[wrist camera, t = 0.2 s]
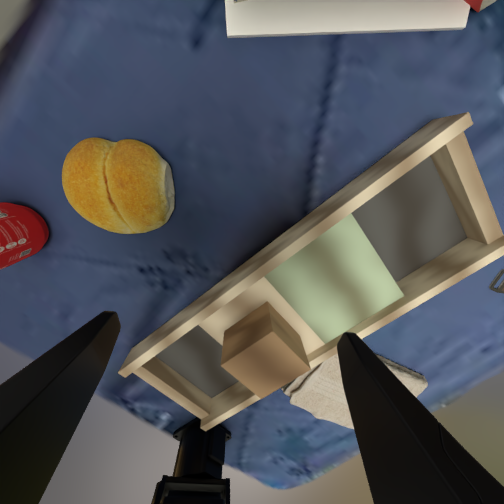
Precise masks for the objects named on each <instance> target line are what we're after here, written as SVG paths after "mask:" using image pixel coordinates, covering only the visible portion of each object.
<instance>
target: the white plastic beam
mask: <svg viewBox="0 0 504 504" xmlns="http://www.w3.org/2000/svg"><path fill="white" fill-rule="evenodd" d="M495 1H497V0H225V9H226V25H227V38H241V37H270V36H298V35H326V34H355V33H383V32H411V31H440V30H462V29H463V28H465V27H466V23H467V18H468V14H469V10H470V7H472V8H473V9H474V10H475V11H477V12H479V11H481V10H482V9H484V8H486V7H487V6H489V5H490V4H492V3H494V2H495Z"/></svg>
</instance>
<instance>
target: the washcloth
mask: <svg viewBox="0 0 504 504" xmlns="http://www.w3.org/2000/svg"><path fill="white" fill-rule="evenodd" d="M377 357H378V358H379V359H380V360H381V361H382V362H383V363H384V364H385V365H386V366H387V367H388V368H389V369H390V370H391V371H392V372H393V374H394V375H395V376H396V377H397V378H398V379H399V380H400V381H401V382H402V383H403V384H404V385H405V386H406V387H407V388H408V389H409V391H410V392H411V393H412V394H413V395H414V396H415V397H417V396H418V395H419V394H420V393H421V392H423V390H424V389H425V388H426V387H427V386H428V384H427V383H428V382H427V380H426V379H425V377H424V375H420V374H419V373H416V372H414V371H412V370H409V369H407V368H406V367H403V366H400V365H398V364H396V363H394V362H392V361H390V360H389V359H385V358H384V357H382V356H379V355H377ZM281 390H283V393H285V394H286V395H288V396H289V397H290V403H291V404H293V405H296V406H298V407H300V408H302V409H305V410H307V411H308V412H310V413H312V414H313V415H314V417H315V418H317V419H325V420H328V421H332V422H334V423H337V424H339V425H342V426H346V427H347V428H352V429H354V426H353V423H352V419H351V415H350V411H349V407H348V404H347V400H346V396H345V392H344V388H343V383H342V377H341V371H340V365H339V359H338V353H337V354H335V355H334V356H332V357H330V358H329V359H327V360H325V361H324V362H322V363H320V364H319V365H317V366H315V367H314V368H312V369H311V370H309V371H308V372H306V373H304V374H303V375H301V376H299V377H298V378H296V379H294V380H293V381H291V382H289V383H288V384H286V385H284V386H282V387H281Z"/></svg>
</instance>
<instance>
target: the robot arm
mask: <svg viewBox="0 0 504 504" xmlns="http://www.w3.org/2000/svg"><path fill="white" fill-rule="evenodd" d="M120 328H121V325H120V321H119V318H118V315H117V313H116V312H114V311H104V312H102V313H100V314H99V315H98V316H96V317H95V318H93V319H92V320H91V321H89V322H88V323H86V324H85V325H84V326H82V327H81V328H79V329H78V330H77V331H75V332H74V333H72V334H71V335H70V336H68V337H67V338H65V339H64V340H63V341H61V342H60V343H58V344H57V345H56V346H54V347H53V348H51V349H50V350H49V351H47V352H46V353H44V354H43V355H42V356H40V357H39V358H37V359H36V360H35V361H33V362H32V363H30V364H29V365H28V366H26V367H25V368H23V369H22V370H21V371H19V372H18V373H16V374H15V375H14V376H12V377H11V378H9V379H8V380H7V381H6V382H4V383H2V384H1V385H0V504H39V502H40V500H41V498H42V496H43V494H44V492H45V490H46V488H47V486H48V484H49V482H50V480H51V477H52V476H53V474H54V472H55V470H56V468H57V466H58V464H59V462H60V460H61V458H62V456H63V454H64V452H65V450H66V447H67V446H68V444H69V442H70V440H71V438H72V436H73V434H74V432H75V430H76V428H77V426H78V424H79V422H80V420H81V418H82V416H83V413H84V412H85V410H86V408H87V406H88V403H89V402H90V400H91V398H92V396H93V394H94V392H95V390H96V388H97V386H98V384H99V382H100V380H101V378H102V376H103V373H104V371H105V369H106V367H107V364H108V361H109V359H110V356H111V353H112V351H113V348H114V345H115V343H116V340H117V337H118V335H119V332H120ZM337 352H338V359H339V365H340V371H341V377H342V383H343V388H344V392H345V396H346V400H347V404H348V407H349V411H350V415H351V419H352V423H353V426H354V430H355V434H356V438H357V441H358V445H359V449H360V453H361V456H362V460H363V464H364V468H365V471H366V475H367V479H368V483H369V486H370V491H371V494H372V498H373V502H374V504H504V487H503V486H502V485H501V484H500V483H499V482H498V481H497V480H496V479H495V478H494V477H493V476H492V475H491V474H490V473H489V472H488V471H487V470H486V469H485V468H484V467H483V466H482V465H481V464H480V463H479V462H478V461H476V460H475V458H473V457H472V456H471V455H470V454H469V453H468V452H467V451H466V450H465V449H464V447H463V446H461V444H460V443H459V442H458V441H457V440H456V439H455V438H454V437H453V436H452V435H451V434H450V433H449V432H448V431H447V430H446V429H445V428H444V427H443V426H442V425H441V423H439V422H438V421H437V419H436V418H435V417H434V416H433V415H432V414H431V413H430V412H429V411H428V410H427V409H426V408H425V406H424V405H423V404H422V403H421V402H420V401H419V400H418V399H417V398H416V397H415V396H414V395H413V394H412V393H411V392H410V391H409V389H408V388H407V387H406V386H405V385H404V384H403V383H402V382H401V381H400V380H399V379H398V378H397V377H396V376H395V375H394V374H393V372H392V371H391V370H390V369H389V368H388V367H387V366H386V365H385V364H384V363H383V362H382V361H381V360H380V359H379V358H378V357H377V355H376V354H375V353H374V352H373V351H372V350H371V349H370V348H369V347H368V346H367V345H366V344H365V343H364V342H363V341H362V339H361V338H360V337H359V336H358V335H357V334H356V333H354V332H344V333H343V334H342V336H341V338H340V340H339V341H338V343H337ZM200 425H201V419H200V418H196V419H195V420H193V421H192V422H190V423H188V424H187V425H185V426H183V427H182V428H180V429H179V430H177V431H175V432H174V434H173V438H175V439H176V440H178V441H180V445H179V449H178V454H177V459H176V463H175V467H174V472H173V476H167V475H163V478H162V480H161V481H160V482H158V483H157V485H156V489H155V493H154V496H153V500H152V503H151V504H230V479H229V478H226V479H222V465H224V457H225V442H226V441H227V440H229V439H231V433H230V432H228V431H227V430H225V429H224V428H223V427H221V426H220V425H218V424H217V425H216V426H214V427H212V428H210V429H209V430H207V431H204V430H203V429H201V428H200Z"/></svg>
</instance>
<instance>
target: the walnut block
mask: <svg viewBox="0 0 504 504" xmlns="http://www.w3.org/2000/svg"><path fill="white" fill-rule="evenodd" d="M221 366H222V367H223V368H224V369H225V370H226V371H228V372H229V373H230V374H231V375H233V376H234V377H235V378H236V379H237V380H239V381H240V382H241V383H242V384H243V385H245V386H246V387H247V388H248V389H249V390H251V391H252V392H253V393H254V394H256V395H257V396H258V397H259V398H260V399H262V398H264V397H266V396H267V395H269V394H271V393H272V392H274V391H276V390H277V389H279V388H281V387H282V386H284V385H286V384H288V383H289V382H291V381H293V380H294V379H296V378H298V377H299V376H301V375H303V374H304V373H306V372H308V371H309V370H311V368H310V365H309V362H308V359H307V356H306V352H305V349H304V346H303V343H302V340H301V337H300V335H299V334H298V333H297V332H296V331H295V330H294V329H293V328H292V327H291V326H290V325H289V323H288V322H287V321H286V320H285V319H284V318H283V317H282V316H281V315H280V314H279V313H278V312H277V311H276V310H275V309H274V308H273V307H272V305H271V304H270V303H269V302H268V301H267V302H265V303H264V304H263V305H261V306H260V307H258V308H257V309H255V310H254V311H253V312H251V313H250V314H248V315H247V316H245V317H244V318H243V319H241V320H240V321H238V322H237V323H235V324H234V325H233V326H231V327H230V328H228V329H227V330H225V331H224V337H223V347H222V357H221Z"/></svg>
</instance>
